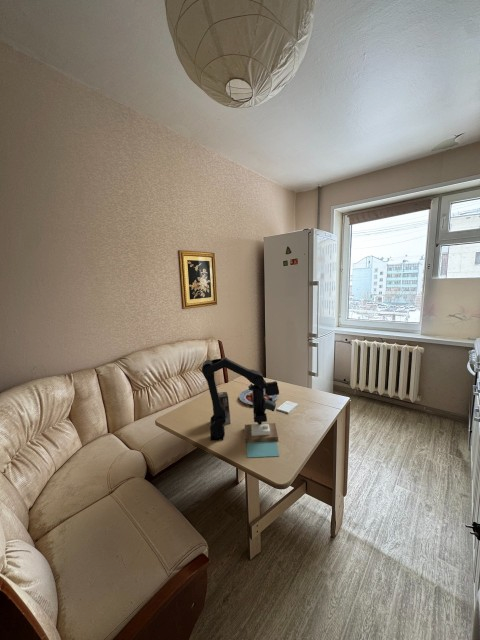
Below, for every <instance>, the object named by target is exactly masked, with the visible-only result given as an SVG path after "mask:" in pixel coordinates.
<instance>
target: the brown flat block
mask: <svg viewBox="0 0 480 640" xmlns="http://www.w3.org/2000/svg"><path fill="white" fill-rule="evenodd" d="M267 424H269V428H270V435H256V436H252V430H251V425H259V424H258V423H251V424H244V444H247V443H254V442H274V441H276V442H279V436H278V432H277V426H276V425H277V424H276V423H275V422H271V423H270V422H269V423H267Z"/></svg>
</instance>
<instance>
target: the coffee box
mask: <svg viewBox="0 0 480 640" xmlns="http://www.w3.org/2000/svg"><path fill="white" fill-rule="evenodd" d="M218 395H219V399H220V403H221V405H225V410H226V414H227V418H226V422H225V423H224V424H223V425H227V424H231V423H232V422H231V414H230V413H231V412H230V403H229V394H228V392H227V391H222V392H218ZM211 405H212V412H213V413H212V414H213V415H214V407H213V403H212V402H211ZM213 415H212V416H213Z"/></svg>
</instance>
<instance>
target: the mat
mask: <svg viewBox="0 0 480 640" xmlns="http://www.w3.org/2000/svg"><path fill="white" fill-rule="evenodd" d="M277 442H278V441H273V442H252V443H246V457H247V458H248V459H249V458H251V459H253V458H274V457H280V452H279V448H278V444H277Z"/></svg>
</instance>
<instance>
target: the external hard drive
mask: <svg viewBox="0 0 480 640" xmlns="http://www.w3.org/2000/svg"><path fill="white" fill-rule="evenodd" d="M298 406H299V403H296V402H293V401H289V400H286V401H284V403H282V404H281V405H280V406H278V407H277V408H275V410H276V411H277V412H281V413H284V414H288V415H289V414H291V412H293V410H295V409H296V408H297V407H298Z"/></svg>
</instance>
